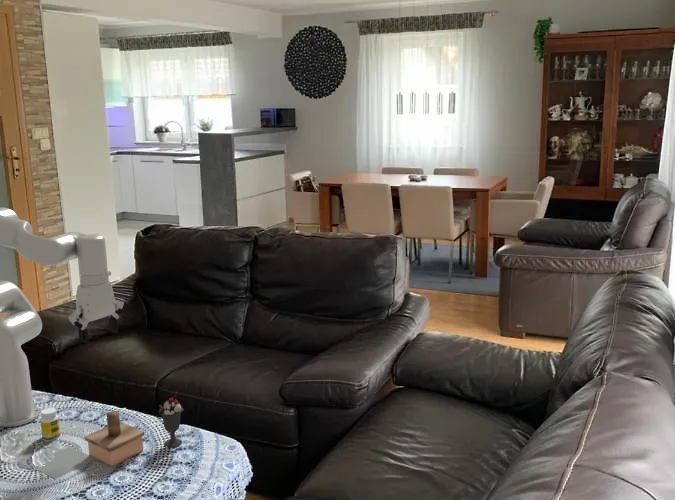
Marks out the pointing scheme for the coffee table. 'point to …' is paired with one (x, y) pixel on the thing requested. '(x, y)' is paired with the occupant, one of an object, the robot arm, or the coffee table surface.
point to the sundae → (171, 420)
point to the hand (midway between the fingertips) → (99, 336)
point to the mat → (64, 462)
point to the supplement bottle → (50, 424)
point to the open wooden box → (116, 452)
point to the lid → (114, 434)
